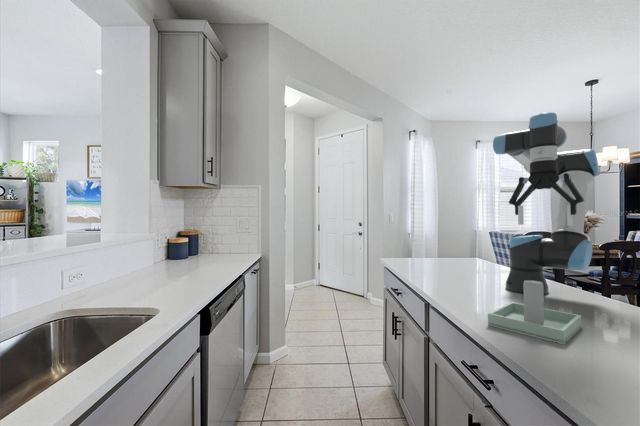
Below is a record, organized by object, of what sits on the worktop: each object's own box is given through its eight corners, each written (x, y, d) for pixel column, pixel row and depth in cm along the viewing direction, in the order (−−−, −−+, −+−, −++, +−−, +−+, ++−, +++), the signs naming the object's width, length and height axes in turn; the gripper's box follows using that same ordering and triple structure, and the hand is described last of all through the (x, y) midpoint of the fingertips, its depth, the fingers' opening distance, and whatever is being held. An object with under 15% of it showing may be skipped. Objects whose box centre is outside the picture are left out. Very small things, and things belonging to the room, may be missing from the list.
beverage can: (547, 326, 88) (546, 283, 88) (528, 325, 89) (527, 283, 89) (539, 321, 92) (538, 280, 92) (521, 320, 93) (520, 279, 93)
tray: (511, 312, 103) (511, 302, 103) (581, 327, 89) (581, 315, 89) (488, 325, 92) (487, 313, 92) (564, 344, 78) (563, 330, 78)
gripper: (498, 164, 111) (498, 224, 111) (589, 153, 91) (590, 226, 91) (506, 166, 115) (507, 223, 115) (595, 156, 96) (596, 225, 96)
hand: (544, 225), depth 103 cm, fingers open, 13 cm apart
